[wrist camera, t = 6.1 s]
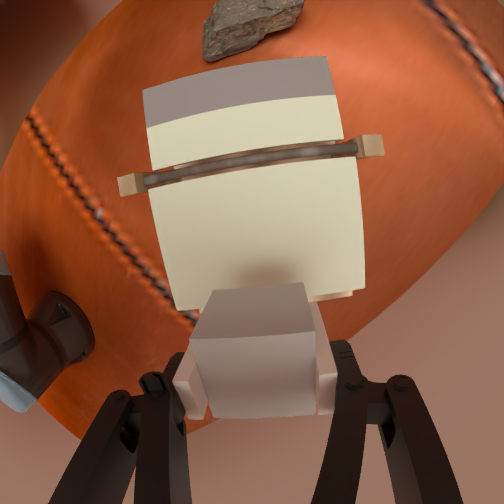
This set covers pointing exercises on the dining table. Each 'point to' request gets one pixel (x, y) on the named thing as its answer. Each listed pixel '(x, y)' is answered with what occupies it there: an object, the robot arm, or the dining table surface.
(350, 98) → the dining table surface
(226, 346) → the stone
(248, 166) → the stand
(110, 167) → the dining table surface
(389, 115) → the dining table surface
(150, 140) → the flap
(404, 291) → the dining table surface
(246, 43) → the rock
